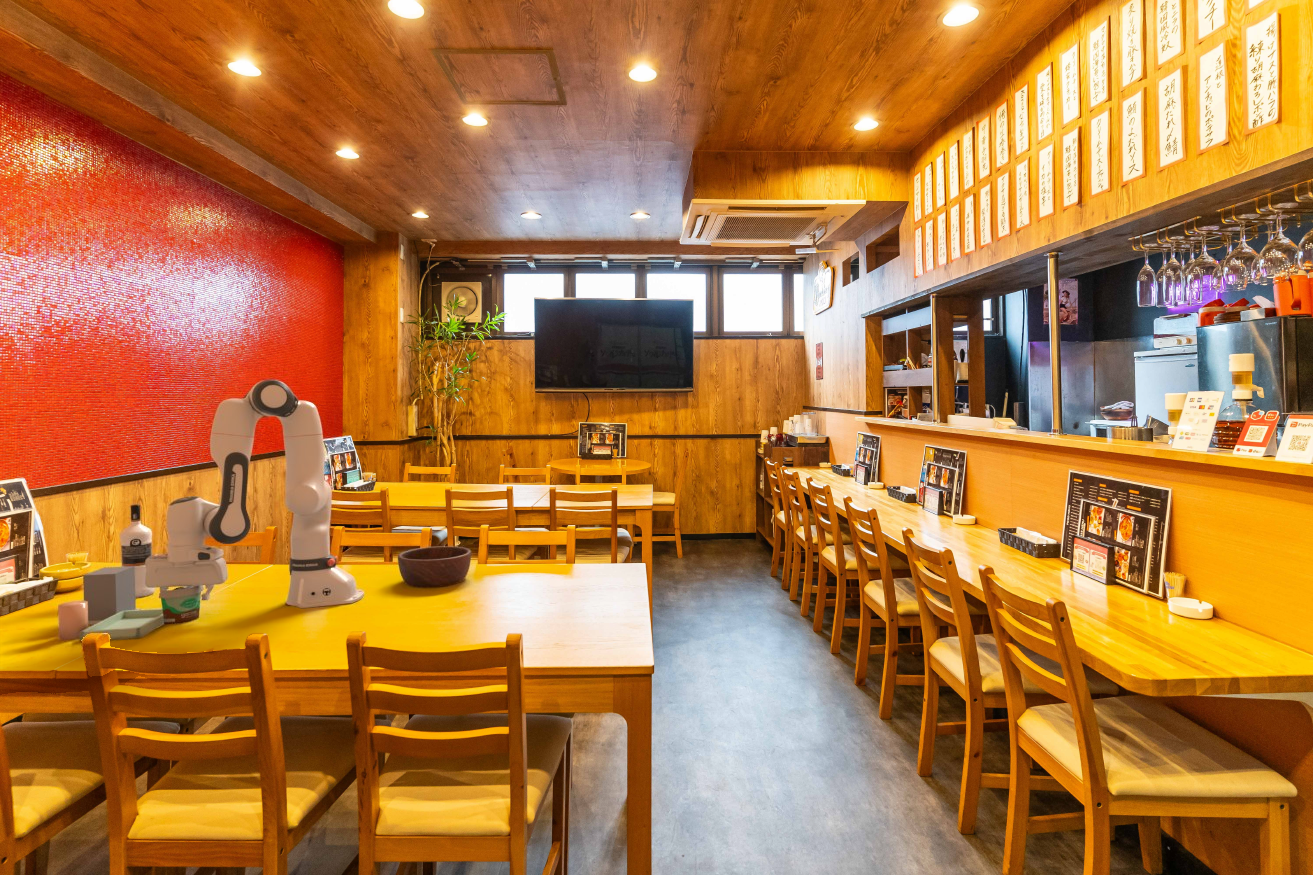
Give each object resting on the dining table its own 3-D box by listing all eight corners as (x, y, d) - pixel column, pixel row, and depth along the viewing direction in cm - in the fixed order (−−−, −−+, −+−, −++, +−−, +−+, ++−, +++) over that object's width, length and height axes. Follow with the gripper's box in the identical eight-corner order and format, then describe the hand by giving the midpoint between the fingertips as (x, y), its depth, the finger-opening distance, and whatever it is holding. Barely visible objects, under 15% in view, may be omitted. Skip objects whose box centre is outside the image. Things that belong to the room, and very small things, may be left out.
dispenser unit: (141, 611, 204) (140, 565, 204) (118, 622, 193) (117, 574, 192) (103, 613, 202) (102, 566, 202) (78, 625, 190) (76, 576, 190)
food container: (177, 627, 189) (176, 591, 188) (159, 625, 190) (158, 590, 190) (214, 614, 201) (214, 581, 200) (197, 613, 202) (196, 580, 202)
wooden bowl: (408, 573, 252) (407, 546, 252) (476, 572, 255) (476, 545, 255) (389, 591, 227) (388, 561, 227) (465, 589, 230) (464, 559, 230)
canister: (93, 632, 184) (92, 599, 184) (79, 639, 178) (78, 605, 178) (68, 633, 183) (67, 601, 183) (53, 641, 177) (52, 607, 177)
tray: (176, 616, 199) (176, 607, 199) (140, 637, 180) (139, 628, 180) (122, 619, 196) (122, 610, 196) (79, 641, 177) (79, 632, 177)
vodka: (158, 590, 229) (155, 502, 228) (151, 596, 220) (149, 505, 219) (124, 593, 225) (121, 503, 224) (116, 600, 216) (113, 507, 215)
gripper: (139, 557, 189) (140, 605, 190) (220, 553, 194) (221, 601, 194) (151, 552, 196) (152, 599, 196) (229, 549, 200) (230, 595, 200)
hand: (187, 600), depth 195 cm, fingers open, 8 cm apart
